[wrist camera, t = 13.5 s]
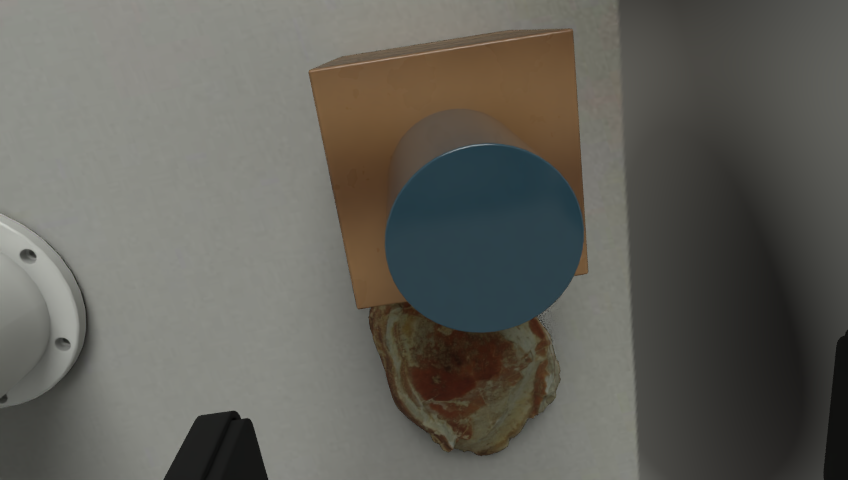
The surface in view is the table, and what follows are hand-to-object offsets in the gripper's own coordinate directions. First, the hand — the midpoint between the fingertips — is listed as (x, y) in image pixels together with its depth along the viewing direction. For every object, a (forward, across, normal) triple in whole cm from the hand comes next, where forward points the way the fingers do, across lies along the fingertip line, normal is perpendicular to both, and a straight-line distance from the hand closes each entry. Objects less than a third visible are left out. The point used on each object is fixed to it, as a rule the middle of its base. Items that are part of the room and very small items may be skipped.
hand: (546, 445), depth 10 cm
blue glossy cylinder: (+13, 0, -1) cm, 13 cm away
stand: (+25, 0, -1) cm, 25 cm away
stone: (+25, 0, +13) cm, 28 cm away
